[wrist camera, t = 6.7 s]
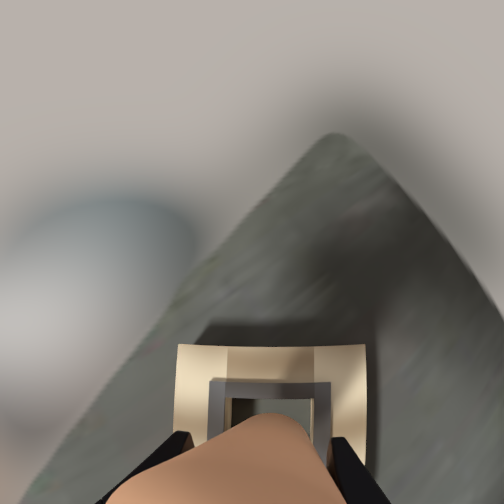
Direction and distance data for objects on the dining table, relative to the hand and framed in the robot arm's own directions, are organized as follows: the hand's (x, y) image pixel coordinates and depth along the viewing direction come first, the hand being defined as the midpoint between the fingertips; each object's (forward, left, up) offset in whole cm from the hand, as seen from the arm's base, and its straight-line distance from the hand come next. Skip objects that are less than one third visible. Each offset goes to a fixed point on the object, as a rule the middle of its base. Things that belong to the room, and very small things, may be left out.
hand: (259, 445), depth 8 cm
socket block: (-1, +1, -13) cm, 13 cm away
